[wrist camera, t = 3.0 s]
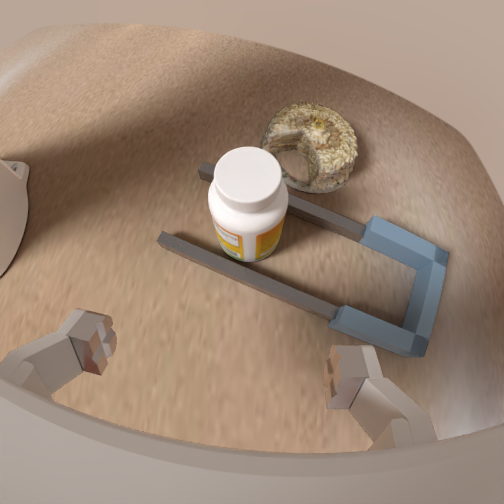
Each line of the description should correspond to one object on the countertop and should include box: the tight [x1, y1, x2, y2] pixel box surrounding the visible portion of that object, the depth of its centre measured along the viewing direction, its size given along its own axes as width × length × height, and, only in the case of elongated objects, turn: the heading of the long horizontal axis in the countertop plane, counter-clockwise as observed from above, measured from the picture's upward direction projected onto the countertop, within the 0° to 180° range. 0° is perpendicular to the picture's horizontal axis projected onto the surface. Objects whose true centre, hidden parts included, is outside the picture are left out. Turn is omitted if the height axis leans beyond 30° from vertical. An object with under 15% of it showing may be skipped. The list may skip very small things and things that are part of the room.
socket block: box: [328, 215, 449, 357], centre depth 23 cm, size 8×10×3 cm
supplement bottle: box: [208, 147, 288, 262], centre depth 22 cm, size 5×5×10 cm
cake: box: [261, 102, 358, 194], centre depth 27 cm, size 10×10×5 cm
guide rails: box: [157, 162, 367, 321], centre depth 26 cm, size 16×8×2 cm, turn 66°
